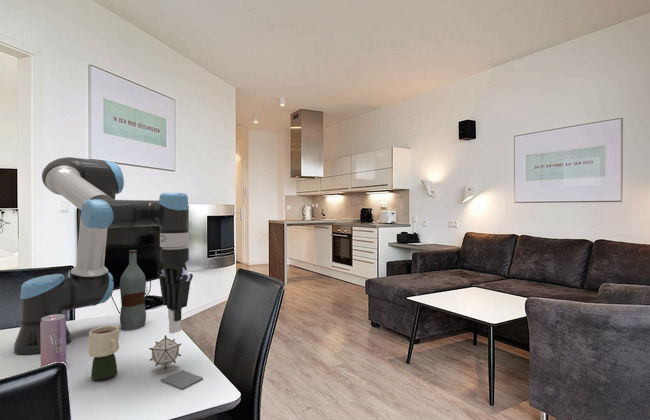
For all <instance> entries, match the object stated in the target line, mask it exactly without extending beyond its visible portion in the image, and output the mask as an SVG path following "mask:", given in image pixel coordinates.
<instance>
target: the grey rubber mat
mask: <svg viewBox="0 0 650 420" xmlns="http://www.w3.org/2000/svg"><path fill="white" fill-rule="evenodd" d="M201 381H204V377H202V376H199V375H197V374H195V373H194V374H193V373H191V372H189V371H186V370H184V369H181V370H179V371H177V372H174V373H172V374H170V375H167V376H165V377H162V378H160V382H161V383H162V384H163V383H164V384H166V385H168V386H171V387H173V388H175V389H177V390H180V391H183V390H185V389H188V388H189V387H192V386H194V385H195V384H198V383H200V382H201Z"/></svg>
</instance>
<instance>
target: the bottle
mask: <svg viewBox="0 0 650 420" xmlns="http://www.w3.org/2000/svg"><path fill="white" fill-rule="evenodd" d="M137 251H138V250H137V249H129V250H128V254H129V255H128V261H129V262H128V265H127V267H126V268H125V270H124V271H123V273H122V274H121V276H120V281H119V293H120V301H121V307H120V315H119V323H120V327H121V330H123V331H135V330H138V329H141V327H142V328H143V327H145V326H146V325H145V324H146V321H147V320H146V319H147V310H146V304H145V303H146V302H145V299H146V298H145V297H146V287H147V282H146V276H145V273H144V272H143V270H142V269H141V267H140V266H139V265H138V263H137V260H138V259H137Z"/></svg>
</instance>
